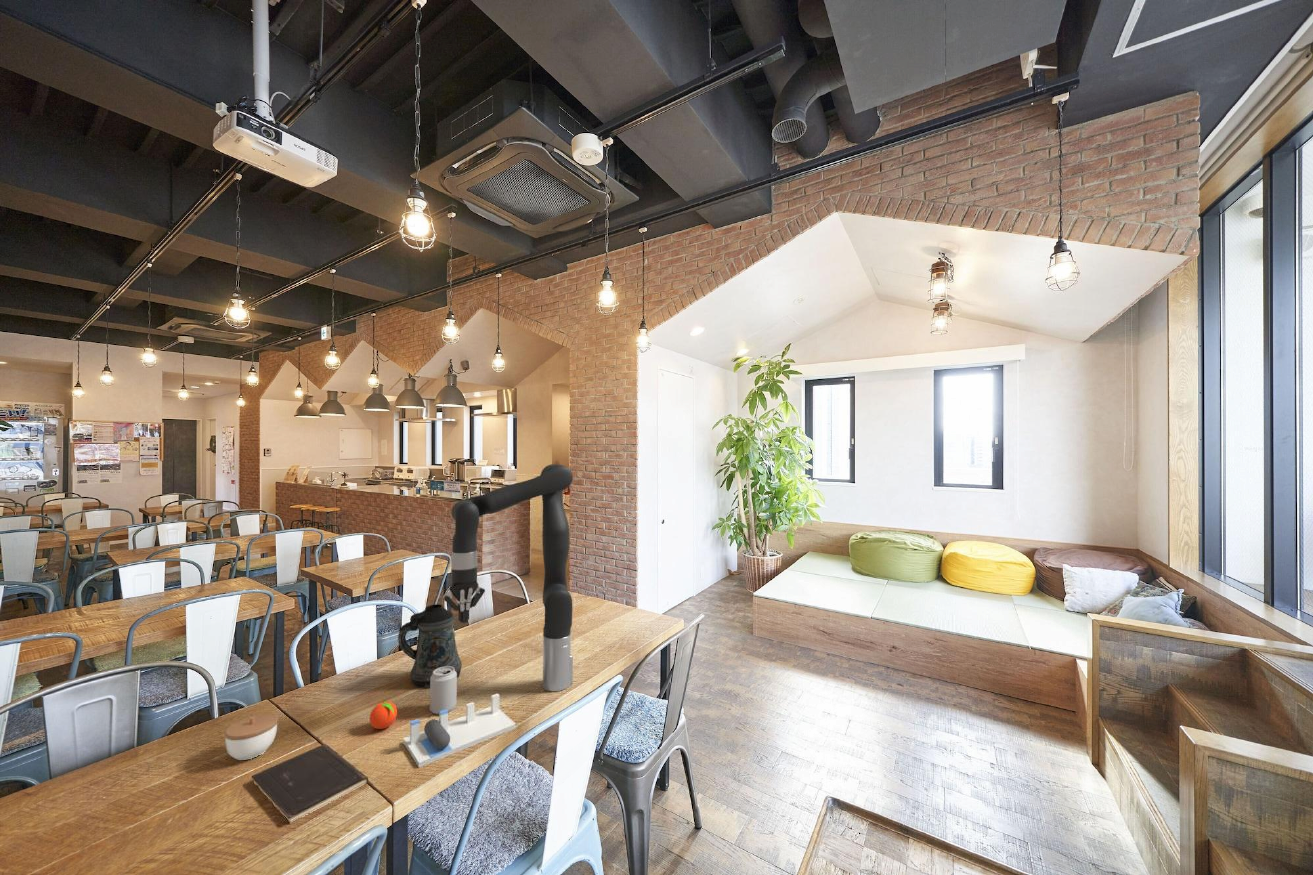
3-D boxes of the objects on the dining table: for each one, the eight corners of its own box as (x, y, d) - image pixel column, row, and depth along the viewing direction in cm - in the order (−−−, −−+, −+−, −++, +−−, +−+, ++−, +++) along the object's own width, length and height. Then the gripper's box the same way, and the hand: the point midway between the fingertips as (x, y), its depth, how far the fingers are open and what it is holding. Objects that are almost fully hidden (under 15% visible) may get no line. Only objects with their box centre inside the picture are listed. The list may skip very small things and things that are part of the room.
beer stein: (471, 674, 172) (472, 603, 173) (419, 697, 156) (421, 619, 156) (443, 663, 181) (444, 596, 182) (391, 684, 164) (393, 610, 165)
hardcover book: (288, 828, 102) (288, 817, 102) (251, 785, 115) (251, 775, 115) (368, 785, 115) (368, 775, 115) (326, 751, 128) (326, 742, 129)
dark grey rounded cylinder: (420, 732, 132) (424, 717, 133) (434, 731, 135) (439, 716, 136) (434, 753, 124) (439, 736, 124) (449, 751, 126) (454, 734, 127)
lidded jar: (287, 746, 130) (287, 710, 130) (241, 771, 120) (242, 732, 120) (260, 738, 133) (261, 704, 134) (214, 761, 123) (215, 724, 123)
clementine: (404, 724, 140) (405, 700, 140) (382, 737, 134) (383, 711, 134) (386, 718, 143) (386, 694, 144) (363, 730, 137) (364, 705, 137)
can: (446, 717, 144) (447, 676, 144) (424, 714, 146) (425, 674, 146) (461, 704, 151) (461, 665, 152) (440, 701, 153) (440, 663, 153)
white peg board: (495, 708, 149) (495, 686, 149) (515, 727, 138) (515, 704, 139) (403, 742, 131) (403, 717, 132) (418, 767, 121) (419, 740, 121)
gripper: (480, 560, 156) (479, 614, 156) (438, 567, 147) (437, 624, 147) (490, 564, 151) (489, 620, 150) (446, 571, 142) (445, 630, 141)
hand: (463, 622), depth 148 cm, fingers closed
